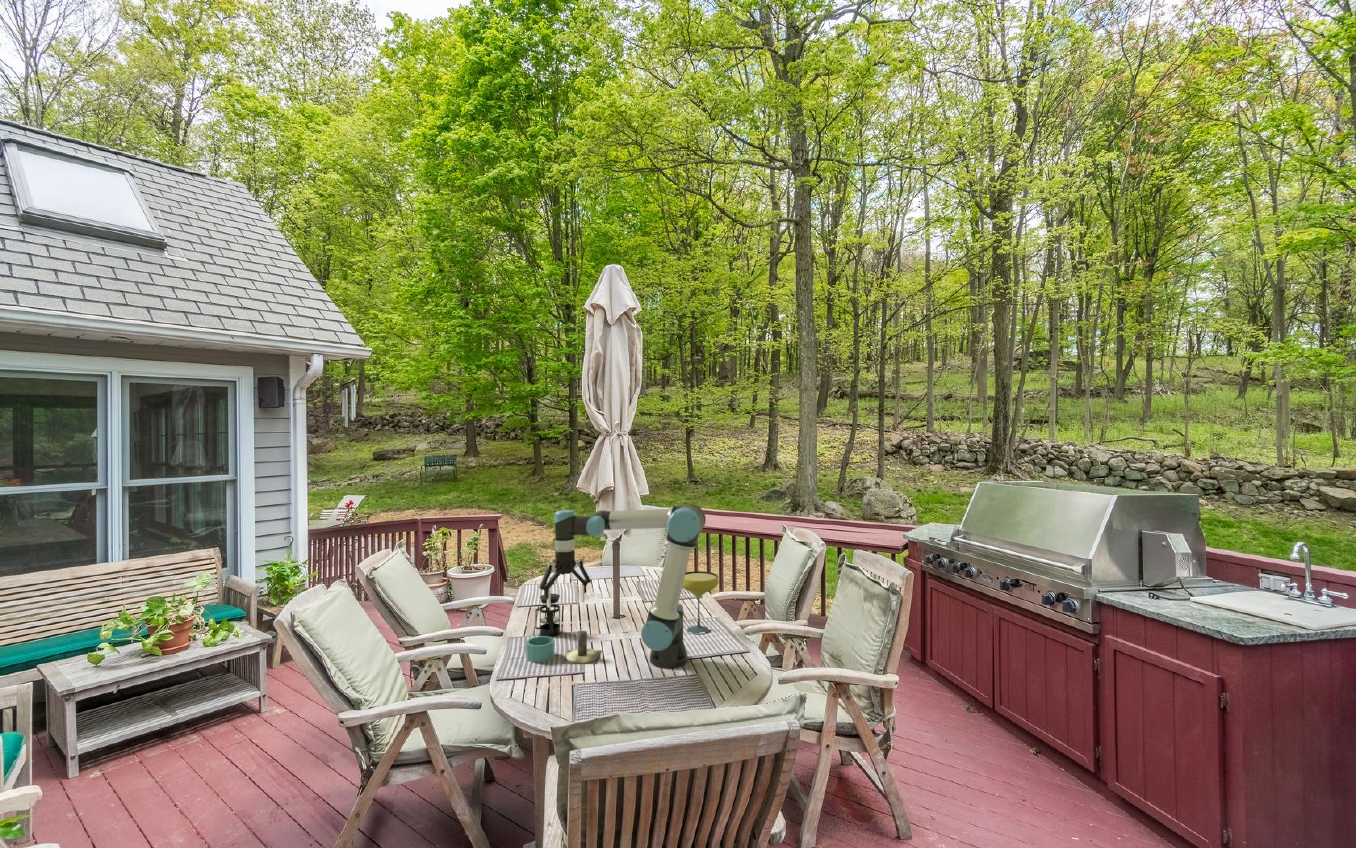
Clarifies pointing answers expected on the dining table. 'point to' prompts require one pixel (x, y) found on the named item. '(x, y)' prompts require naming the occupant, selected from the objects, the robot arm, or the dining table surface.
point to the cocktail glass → (699, 590)
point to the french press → (549, 617)
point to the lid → (582, 651)
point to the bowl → (540, 649)
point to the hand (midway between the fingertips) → (565, 604)
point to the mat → (583, 663)
